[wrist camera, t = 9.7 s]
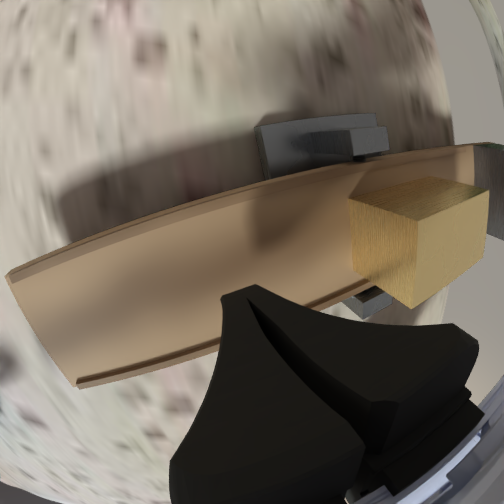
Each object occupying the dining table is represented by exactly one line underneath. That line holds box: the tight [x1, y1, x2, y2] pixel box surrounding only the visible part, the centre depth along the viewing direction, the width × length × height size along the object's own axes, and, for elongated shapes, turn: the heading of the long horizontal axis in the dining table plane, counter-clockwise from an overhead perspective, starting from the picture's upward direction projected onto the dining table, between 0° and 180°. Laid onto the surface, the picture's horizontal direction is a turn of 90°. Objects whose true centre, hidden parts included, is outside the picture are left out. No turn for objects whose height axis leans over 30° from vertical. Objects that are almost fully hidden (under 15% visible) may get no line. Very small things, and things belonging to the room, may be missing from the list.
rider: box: [348, 176, 489, 309], centre depth 12 cm, size 4×7×4 cm, turn 102°
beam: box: [5, 142, 504, 389], centre depth 12 cm, size 8×36×6 cm, turn 102°
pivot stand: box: [254, 113, 393, 320], centre depth 15 cm, size 12×8×5 cm, turn 12°
